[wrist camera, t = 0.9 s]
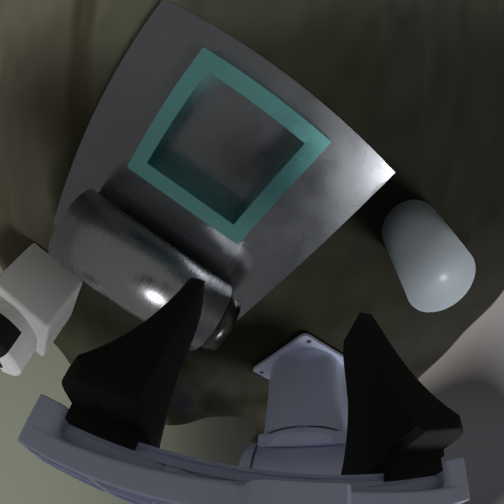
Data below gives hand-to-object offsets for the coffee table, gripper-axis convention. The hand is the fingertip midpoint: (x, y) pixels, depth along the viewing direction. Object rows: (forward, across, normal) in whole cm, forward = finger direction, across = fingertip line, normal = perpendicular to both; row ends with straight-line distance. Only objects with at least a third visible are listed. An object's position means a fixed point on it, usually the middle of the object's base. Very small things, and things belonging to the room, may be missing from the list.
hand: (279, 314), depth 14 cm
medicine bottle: (+10, +22, +12) cm, 27 cm away
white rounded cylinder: (+10, -10, -2) cm, 14 cm away
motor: (+10, +7, -1) cm, 12 cm away
